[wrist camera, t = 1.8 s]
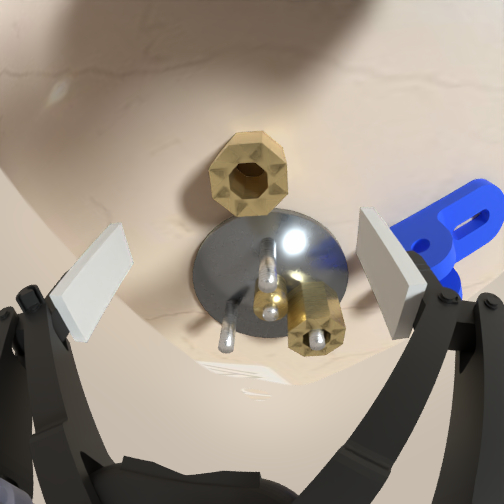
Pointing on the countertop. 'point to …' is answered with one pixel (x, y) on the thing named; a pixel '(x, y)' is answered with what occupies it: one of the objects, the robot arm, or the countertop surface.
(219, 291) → the carrier
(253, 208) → the octagonal wooden tube
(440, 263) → the bracket
